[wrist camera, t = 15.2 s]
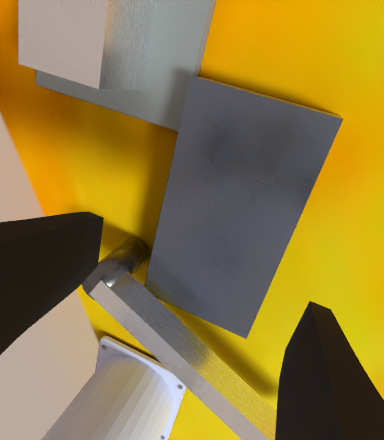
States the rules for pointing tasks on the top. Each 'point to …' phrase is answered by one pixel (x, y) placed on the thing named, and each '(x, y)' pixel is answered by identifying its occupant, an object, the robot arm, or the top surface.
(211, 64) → the top surface
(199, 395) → the steel lever
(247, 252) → the grey piece
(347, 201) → the top surface
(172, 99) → the rubber mat
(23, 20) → the grey rectangular block
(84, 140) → the top surface
